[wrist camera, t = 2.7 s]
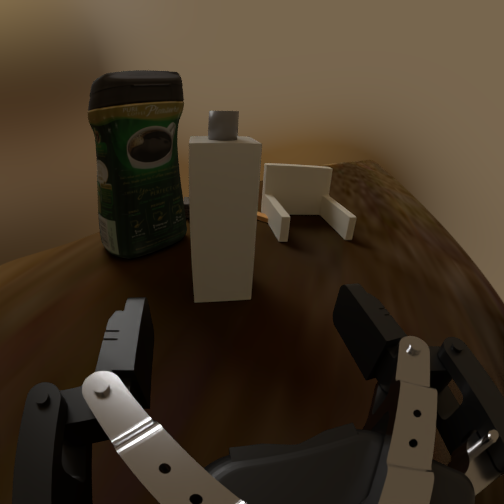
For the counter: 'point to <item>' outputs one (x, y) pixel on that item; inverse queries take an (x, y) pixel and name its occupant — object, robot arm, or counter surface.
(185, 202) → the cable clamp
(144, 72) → the coffee jar
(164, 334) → the counter surface
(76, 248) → the counter surface
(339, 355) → the counter surface
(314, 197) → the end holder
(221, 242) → the white square bottle
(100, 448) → the counter surface
